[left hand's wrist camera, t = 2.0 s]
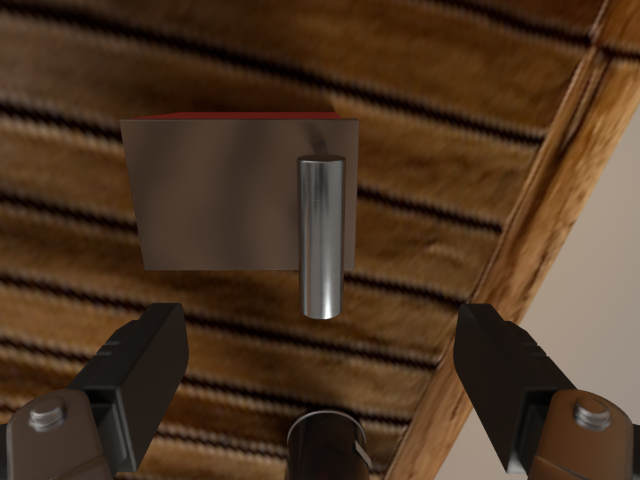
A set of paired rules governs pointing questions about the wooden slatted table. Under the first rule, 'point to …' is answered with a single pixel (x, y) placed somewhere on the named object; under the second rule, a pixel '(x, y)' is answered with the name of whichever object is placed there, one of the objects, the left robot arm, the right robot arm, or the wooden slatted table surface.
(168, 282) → the wooden slatted table surface
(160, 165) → the lid
